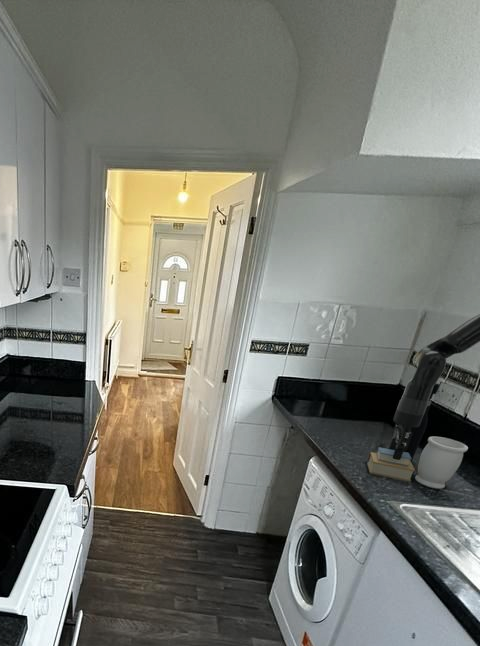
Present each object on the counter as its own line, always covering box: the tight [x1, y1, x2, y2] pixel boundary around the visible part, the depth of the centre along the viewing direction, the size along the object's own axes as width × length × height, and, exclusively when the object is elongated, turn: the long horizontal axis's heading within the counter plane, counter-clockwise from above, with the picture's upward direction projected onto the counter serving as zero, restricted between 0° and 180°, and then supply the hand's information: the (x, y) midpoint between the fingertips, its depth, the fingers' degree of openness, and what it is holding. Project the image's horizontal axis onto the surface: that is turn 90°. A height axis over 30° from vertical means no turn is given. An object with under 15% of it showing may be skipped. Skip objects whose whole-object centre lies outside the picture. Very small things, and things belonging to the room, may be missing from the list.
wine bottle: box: [401, 382, 441, 463], centre depth 150 cm, size 6×6×30 cm
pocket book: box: [375, 446, 413, 466], centre depth 144 cm, size 9×6×3 cm, turn 63°
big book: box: [366, 451, 416, 483], centre depth 145 cm, size 12×10×4 cm
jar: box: [414, 435, 469, 489], centre depth 137 cm, size 11×10×15 cm
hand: (394, 454), depth 144 cm, fingers open, 8 cm apart
